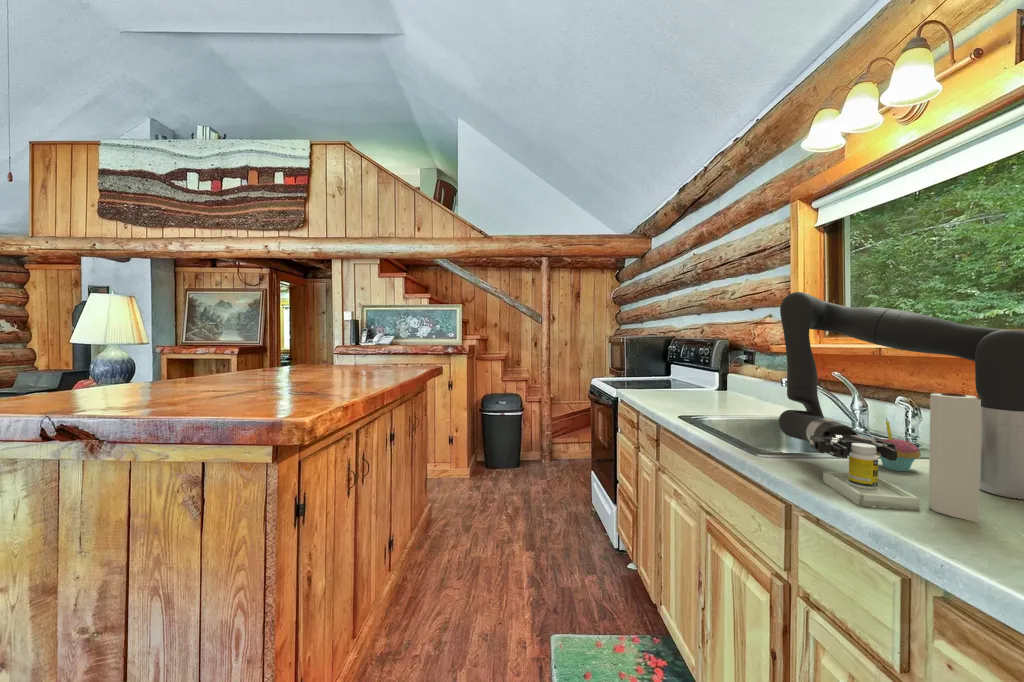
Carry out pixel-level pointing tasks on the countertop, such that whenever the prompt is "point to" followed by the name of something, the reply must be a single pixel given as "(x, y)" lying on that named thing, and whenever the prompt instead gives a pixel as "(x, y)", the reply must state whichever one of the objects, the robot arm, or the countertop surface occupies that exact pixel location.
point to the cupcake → (900, 453)
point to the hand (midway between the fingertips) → (869, 454)
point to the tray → (872, 493)
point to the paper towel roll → (955, 455)
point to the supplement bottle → (863, 466)
